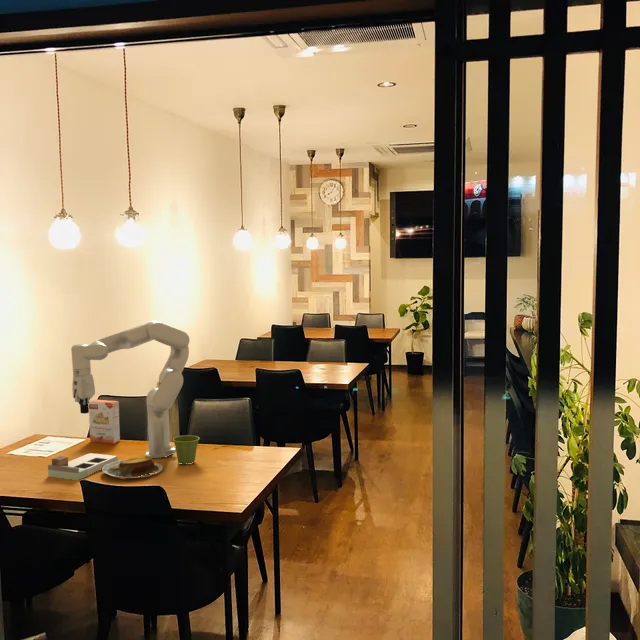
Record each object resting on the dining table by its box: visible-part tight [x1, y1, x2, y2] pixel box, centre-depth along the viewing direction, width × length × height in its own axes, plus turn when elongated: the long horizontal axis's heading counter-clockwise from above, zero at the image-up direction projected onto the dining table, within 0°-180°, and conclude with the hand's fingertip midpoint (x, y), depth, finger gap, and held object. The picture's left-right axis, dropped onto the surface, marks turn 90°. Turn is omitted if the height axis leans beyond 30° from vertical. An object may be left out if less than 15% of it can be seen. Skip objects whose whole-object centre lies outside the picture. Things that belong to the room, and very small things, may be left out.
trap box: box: [47, 452, 119, 481], centre depth 288 cm, size 15×26×5 cm, turn 160°
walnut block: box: [51, 455, 69, 466], centre depth 280 cm, size 4×4×4 cm
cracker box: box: [88, 399, 121, 445], centre depth 334 cm, size 14×6×21 cm, turn 73°
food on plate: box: [101, 456, 164, 480], centre depth 283 cm, size 25×25×7 cm
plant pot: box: [172, 434, 201, 464], centre depth 296 cm, size 12×12×11 cm
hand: (84, 412), depth 294 cm, fingers closed
